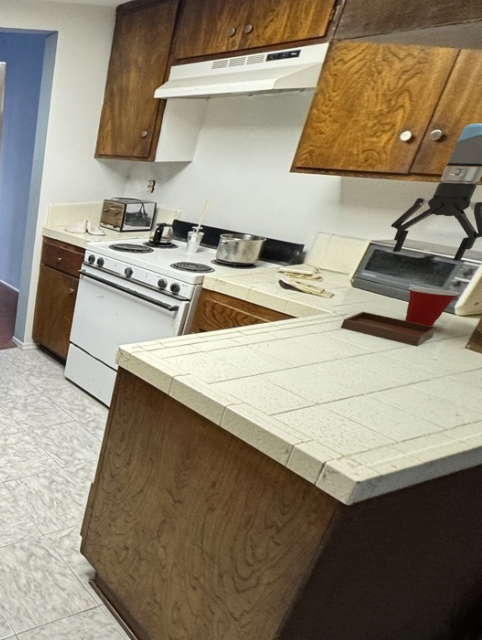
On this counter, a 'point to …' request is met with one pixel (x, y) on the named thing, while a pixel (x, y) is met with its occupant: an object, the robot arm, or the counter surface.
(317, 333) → the counter surface
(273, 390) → the counter surface
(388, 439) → the counter surface
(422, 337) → the tray
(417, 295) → the plastic cup
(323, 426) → the counter surface
